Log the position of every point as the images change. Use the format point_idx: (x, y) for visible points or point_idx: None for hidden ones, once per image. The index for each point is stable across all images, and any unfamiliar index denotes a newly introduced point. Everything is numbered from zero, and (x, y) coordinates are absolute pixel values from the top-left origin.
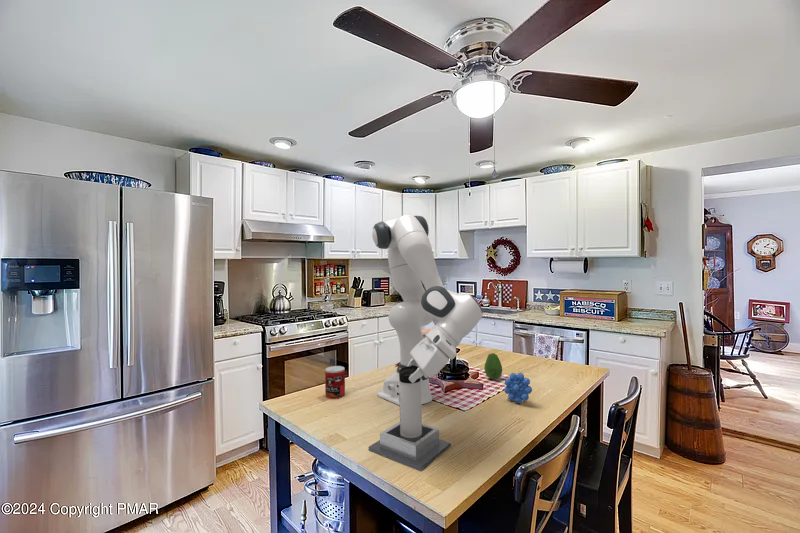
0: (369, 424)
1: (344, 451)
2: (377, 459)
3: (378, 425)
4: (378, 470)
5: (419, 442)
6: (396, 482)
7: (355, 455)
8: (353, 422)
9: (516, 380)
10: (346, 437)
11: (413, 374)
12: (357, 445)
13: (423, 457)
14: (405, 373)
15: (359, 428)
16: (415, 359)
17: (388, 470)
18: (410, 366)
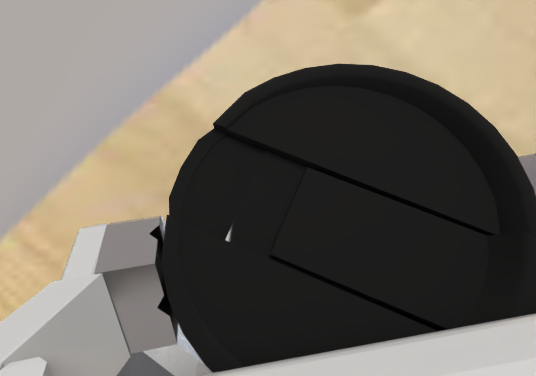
0: (515, 94)
1: (251, 22)
2: (186, 157)
3: (511, 137)
4: (101, 167)
5: (151, 350)
6: (9, 244)
7: (219, 67)
8: (526, 20)
9: None
10: (372, 12)
11: (41, 290)
12: (303, 65)
13: (161, 367)
14: (297, 166)
15: (466, 54)
16: (467, 338)
17: (98, 207)
18: (516, 235)
